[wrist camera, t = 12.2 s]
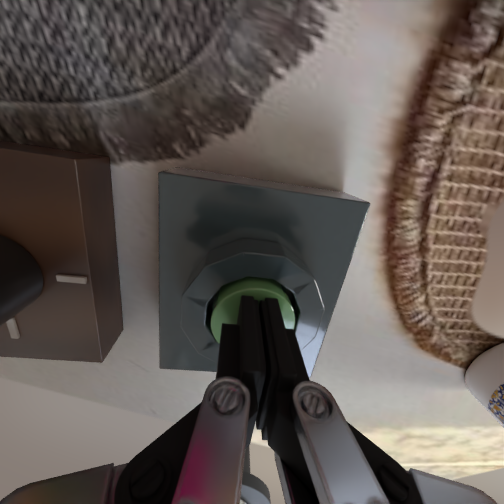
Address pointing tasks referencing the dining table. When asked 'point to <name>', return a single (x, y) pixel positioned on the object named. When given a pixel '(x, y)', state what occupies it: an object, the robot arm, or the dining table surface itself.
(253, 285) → the green round button
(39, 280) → the dial
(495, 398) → the bath foam
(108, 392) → the dining table surface
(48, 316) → the lock base
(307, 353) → the grey button housing
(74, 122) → the dining table surface
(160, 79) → the dining table surface
